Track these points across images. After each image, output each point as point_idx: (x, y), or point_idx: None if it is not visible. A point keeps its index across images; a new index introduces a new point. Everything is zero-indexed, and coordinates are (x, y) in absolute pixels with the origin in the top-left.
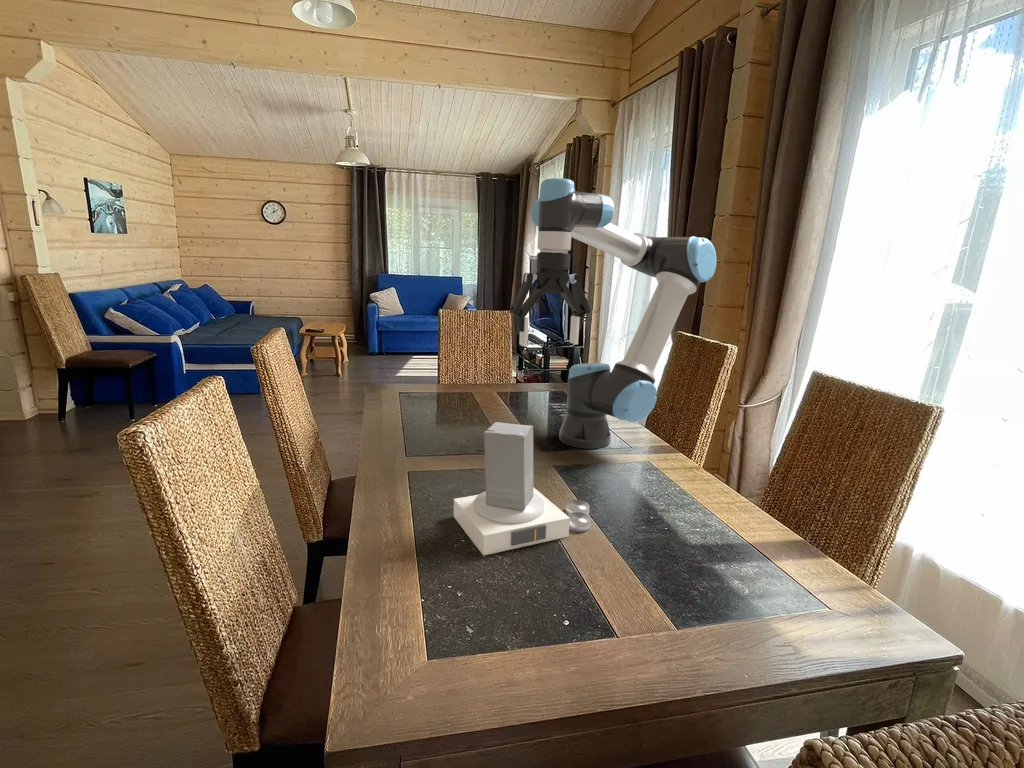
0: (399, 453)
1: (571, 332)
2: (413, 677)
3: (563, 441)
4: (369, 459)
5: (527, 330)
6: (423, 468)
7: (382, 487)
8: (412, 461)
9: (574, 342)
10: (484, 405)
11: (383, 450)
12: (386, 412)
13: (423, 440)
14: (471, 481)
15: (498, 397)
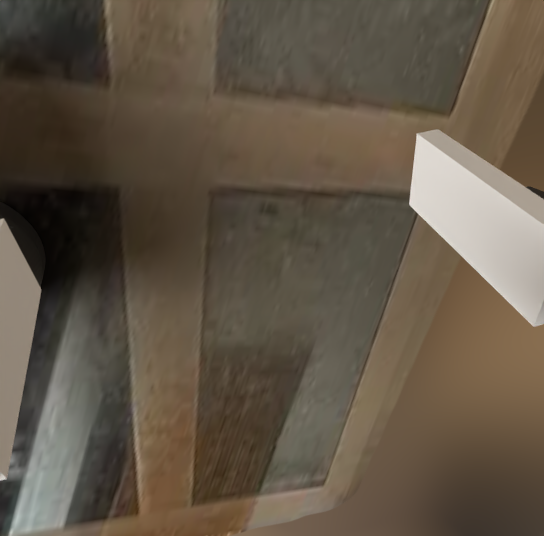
0: None
1: (21, 328)
2: None
3: (38, 238)
4: None
5: (492, 181)
6: (417, 125)
7: (526, 37)
8: None
9: (9, 236)
10: (184, 448)
11: None
12: (376, 400)
13: (363, 273)
14: (351, 22)
15: (141, 490)
